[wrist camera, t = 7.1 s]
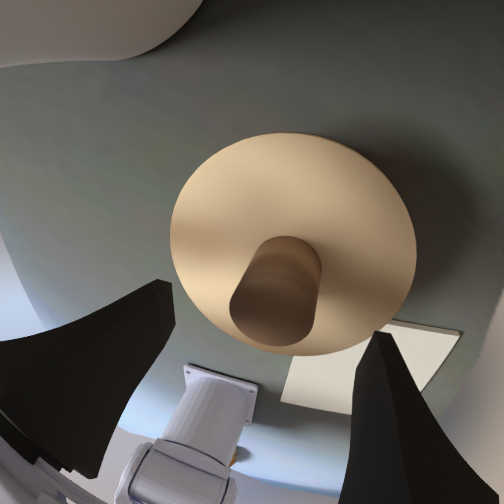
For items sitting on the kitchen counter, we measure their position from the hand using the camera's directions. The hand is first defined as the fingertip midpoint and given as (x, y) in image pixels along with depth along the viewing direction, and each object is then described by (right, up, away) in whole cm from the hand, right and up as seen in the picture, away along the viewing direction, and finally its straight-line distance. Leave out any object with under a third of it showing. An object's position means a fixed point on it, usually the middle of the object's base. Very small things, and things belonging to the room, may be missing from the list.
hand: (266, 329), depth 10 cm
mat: (+9, -8, +14) cm, 18 cm away
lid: (+1, +2, +4) cm, 5 cm away
